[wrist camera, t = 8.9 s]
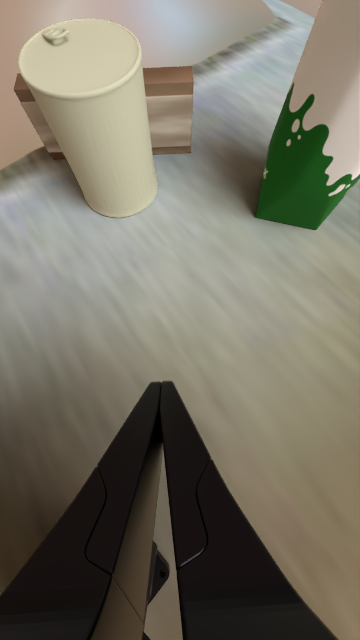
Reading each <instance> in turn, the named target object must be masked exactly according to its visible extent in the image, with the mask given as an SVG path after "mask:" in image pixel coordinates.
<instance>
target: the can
mask: <svg viewBox="0 0 360 640" xmlns="http://www.w3.org/2000/svg"><path fill="white" fill-rule="evenodd" d="M18 68H19V71H20V74H21V76H22V78H23V79H24V81H25V82H26V84H27V86H28V87H29V89H30V91H31V93H32V95H33V96H34V98H35V100H36V102H37V104H38V106H39V108H40V110H41V112H42V113H43V115H44V117H45V119H46V121H47V123H48V125H49V127H50V129H51V130H52V132H53V134H54V136H55V138H56V140H57V142H58V144H59V146H60V148H61V150H62V152H63V154H64V156H65V157H66V159H67V161H68V163H69V165H70V167H71V169H72V171H73V173H74V175H75V177H76V179H77V181H78V183H79V185H80V187H81V189H82V191H83V194H84V197H85V200H86V202H87V203H88V205H89V206H90V207H91V208H92V209H93V210H95V211H96V212H98V213H99V214H102V215H104V216H108V217H114V218H123V217H129V216H132V215H135V214H137V213H139V212H141V211H143V210H144V209H146V208H147V207H148V206H149V205H150V204H151V203H152V201H153V200H154V198H155V196H156V194H157V190H158V181H157V177H156V174H155V168H154V161H153V153H152V145H151V137H150V129H149V121H148V113H147V104H146V95H145V87H144V78H143V69H142V51H141V47H140V44H139V42H138V40H137V38H136V37H135V36H134V34H132V32H130V31H129V30H128V29H126V28H125V27H123V26H121V25H119V24H117V23H114V22H111V21H107V20H100V19H74V20H69V21H63V22H60V23H57V24H54V25H51V26H49V27H47V28H45V29H43V30H41V31H39V32H38V33H36V34H35V35H33V36H32V37H31V38H30V39H29V40H28V41H27V42H26V43H25V45H24V46H23V47H22V49H21V51H20V54H19V57H18Z"/></svg>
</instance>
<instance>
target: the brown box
mask: <svg viewBox="0 0 360 640" xmlns="http://www.w3.org/2000/svg"><path fill="white" fill-rule="evenodd" d="M142 69H143V78H144V87H145V95H146V104H147V113H148V121H149V129H150V137H151V145H152V153H153V154H172V153H191V133H192V109H193V74H192V66H186V67H162V68H142ZM14 91H15V93H16V95H17V96H18V98H19V100H20V102H21V105H22V107H23V109H24V110H25V112H26V114H27V115H28V117H29V119H30V121H31V122H32V124H33V126H34V128H35V129H36V131H37V133H38V135H39V136H40V138H41V140H42V142H43V143H44V145H45V147H46V149H47V150H48V152H50V154H51V156H52V158H53V159H66V157H65V156H64V154H63V152H62V150H61V148H60V146H59V144H58V142H57V140H56V138H55V136H54V134H53V132H52V130H51V129H50V127H49V125H48V123H47V121H46V119H45V117H44V115H43V113H42V112H41V110H40V108H39V106H38V104H37V102H36V100H35V98H34V96H33V95H32V93H31V91H30V89H29V87H28V86H27V84H26V82H25V81H24V79H23V78H22V76H21V74H17V78H16V82H15V86H14Z"/></svg>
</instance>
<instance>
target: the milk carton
mask: <svg viewBox="0 0 360 640" xmlns="http://www.w3.org/2000/svg"><path fill="white" fill-rule="evenodd" d="M359 179H360V0H323V1H322V3H321V6H320V8H319V11H318V14H317V16H316V19H315V21H314V24H313V27H312V29H311V32H310V35H309V37H308V40H307V43H306V45H305V48H304V51H303V54H302V56H301V59H300V62H299V64H298V67H297V70H296V72H295V75H294V78H293V81H292V83H291V86H290V89H289V91H288V94H287V97H286V100H285V102H284V105H283V108H282V110H281V113H280V116H279V119H278V121H277V124H276V127H275V129H274V132H273V135H272V138H271V141H270V144H269V148H268V153H267V158H266V163H265V168H264V173H263V179H262V184H261V190H260V195H259V201H258V207H257V212H256V218H261V219H266V220H271V221H276V222H280V223H285V224H290V225H295V226H300V227H304V228H309V229H314V230H316V229H317V228H318V227H319V226H320V225H321V223H322V222H323V221H324V220H325V219H326V218H327V216H328V215H329V214H330V213H331V212H332V210H333V209H334V208H335V207H336V206H337V205H338V203H339V202H340V201H341V200H342V199H343V197H344V196H345V195H346V194H347V193H348V191H349V190H350V189H351V188H352V187H353V186H354V184H355V183H356V182H357V181H358V180H359Z"/></svg>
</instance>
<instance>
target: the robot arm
mask: <svg viewBox="0 0 360 640" xmlns="http://www.w3.org/2000/svg"><path fill="white" fill-rule="evenodd" d="M163 449H164V459H165V468H166V478H167V487H168V497H169V506H170V516H171V525H172V535H173V544H174V554H175V563H176V571H177V583H178V592H179V602H180V613H181V623H182V634H183V640H338V639H337V637H336V636H335V635H334V634H333V633H332V632H331V631H330V630H329V629H328V627H327V626H326V625H325V624H324V623H323V622H322V621H321V620H320V619H319V617H318V616H317V615H316V614H315V613H314V612H313V611H312V610H311V609H310V608H309V606H308V605H307V604H306V603H305V602H304V601H303V599H302V598H301V597H300V596H299V594H298V593H297V592H296V590H295V589H294V588H293V586H292V585H291V584H290V582H289V581H288V580H287V578H286V577H285V575H284V574H283V573H282V571H281V570H280V568H279V567H278V565H277V564H276V562H275V561H274V559H273V558H272V556H271V555H270V553H269V552H268V550H267V549H266V547H265V546H264V544H263V543H262V541H261V539H260V538H259V536H258V535H257V533H256V532H255V530H254V529H253V527H252V526H251V524H250V523H249V521H248V520H247V518H246V517H245V515H244V514H243V512H242V511H241V509H240V507H239V506H238V504H237V503H236V501H235V499H234V498H233V496H232V494H231V493H230V491H229V490H228V488H227V486H226V484H225V482H224V480H223V479H222V477H221V475H220V473H219V471H218V469H217V467H216V465H215V464H214V462H213V460H212V459H211V456H210V454H209V452H208V450H207V448H206V446H205V444H204V442H203V440H202V438H201V436H200V434H199V432H198V430H197V428H196V426H195V424H194V422H193V421H192V419H191V417H190V415H189V413H188V411H187V409H186V407H185V405H184V403H183V401H182V399H181V397H180V395H179V393H178V391H177V389H176V387H175V385H174V383H173V382H172V381H163V382H162V383H161V382H160V381H159V382H151V383H150V384H149V385H148V387H147V389H146V390H145V392H144V393H143V395H142V396H141V398H140V399H139V401H138V403H137V404H136V406H135V407H134V409H133V410H132V412H131V413H130V415H129V416H128V418H127V420H126V421H125V423H124V424H123V426H122V427H121V429H120V430H119V432H118V433H117V435H116V437H115V438H114V440H113V441H112V443H111V444H110V446H109V447H108V449H107V451H106V452H105V454H104V455H103V457H102V458H101V460H100V461H99V463H98V467H95V469H94V470H93V472H92V474H91V475H90V477H89V478H88V480H87V481H86V483H85V484H84V486H83V487H82V489H81V490H80V492H79V493H78V495H77V496H76V497H75V499H74V500H73V502H72V503H71V504H70V506H69V507H68V508H67V510H66V511H65V512H64V514H63V515H62V516H61V518H60V519H59V520H58V522H57V523H56V524H55V526H54V527H53V528H52V530H51V531H50V532H49V533H48V535H47V536H46V537H45V539H44V540H43V541H42V543H41V544H40V545H39V546H38V548H37V549H36V550H35V552H34V553H33V554H32V556H31V557H30V558H29V559H28V561H27V562H26V563H25V565H24V566H23V567H22V569H21V570H20V571H19V572H18V574H17V575H16V576H15V578H14V579H13V580H12V581H11V583H10V584H9V585H8V587H7V588H6V589H5V590H4V592H3V593H2V594H1V595H0V640H150V639H149V637H148V636H147V635H146V634H145V633H144V625H145V619H146V612H147V606H148V604H149V603H150V602H151V600H152V599H153V598H154V597H155V595H156V594H157V593H158V591H159V590H160V589H161V587H162V586H163V585H164V583H165V582H166V581H167V579H168V577H169V572H170V568H169V564H168V563H167V561H166V560H165V559H164V558H163V556H162V555H161V554H160V553H159V551H158V550H157V545H156V544H155V542H154V541H153V534H154V525H155V516H156V507H157V498H158V489H159V480H160V471H161V462H162V453H163ZM161 569H164V570H165V571H166V572H165V573H161V571H160V570H161Z"/></svg>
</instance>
